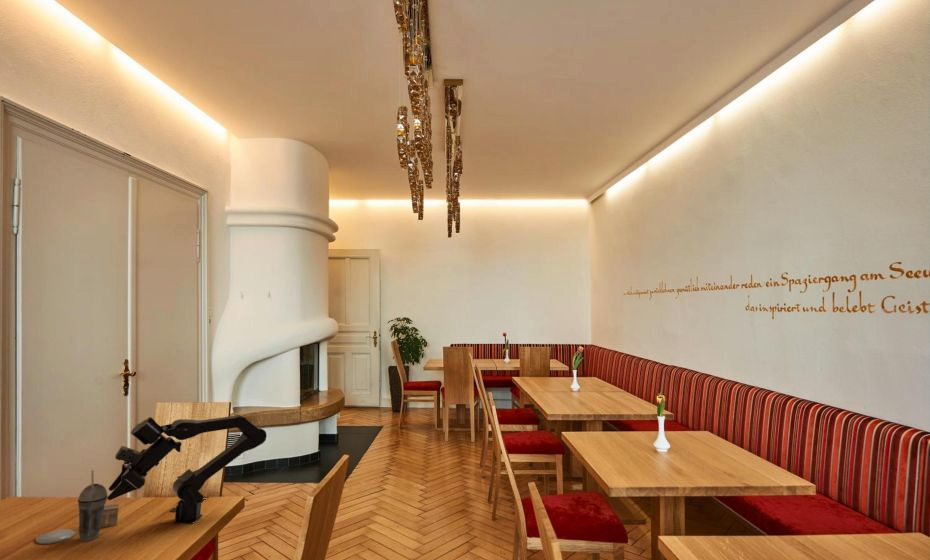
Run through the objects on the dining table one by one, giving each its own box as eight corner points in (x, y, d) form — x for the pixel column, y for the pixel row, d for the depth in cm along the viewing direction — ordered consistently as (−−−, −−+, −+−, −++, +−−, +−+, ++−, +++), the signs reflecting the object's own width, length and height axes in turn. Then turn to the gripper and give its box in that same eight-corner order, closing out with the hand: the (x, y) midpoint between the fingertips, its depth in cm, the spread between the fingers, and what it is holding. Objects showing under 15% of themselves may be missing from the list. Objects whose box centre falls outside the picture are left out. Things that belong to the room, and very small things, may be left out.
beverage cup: (109, 533, 152) (116, 466, 153) (89, 544, 144) (96, 473, 146) (88, 532, 152) (94, 465, 154) (66, 542, 145) (74, 472, 147)
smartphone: (168, 511, 170) (190, 495, 185) (167, 513, 170) (190, 497, 185) (189, 511, 170) (210, 496, 185) (189, 513, 170) (210, 498, 185)
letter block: (96, 522, 160) (98, 504, 160) (117, 519, 163) (118, 502, 163) (95, 529, 155) (97, 510, 155) (116, 525, 158) (118, 507, 158)
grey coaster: (82, 531, 153) (82, 529, 153) (60, 544, 144) (60, 542, 144) (51, 531, 152) (51, 529, 152) (27, 544, 143) (27, 542, 143)
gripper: (135, 431, 164) (89, 469, 157) (135, 443, 148) (85, 486, 141) (160, 453, 167) (117, 491, 160) (163, 467, 152) (116, 510, 145)
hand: (108, 494), depth 152 cm, fingers open, 9 cm apart
